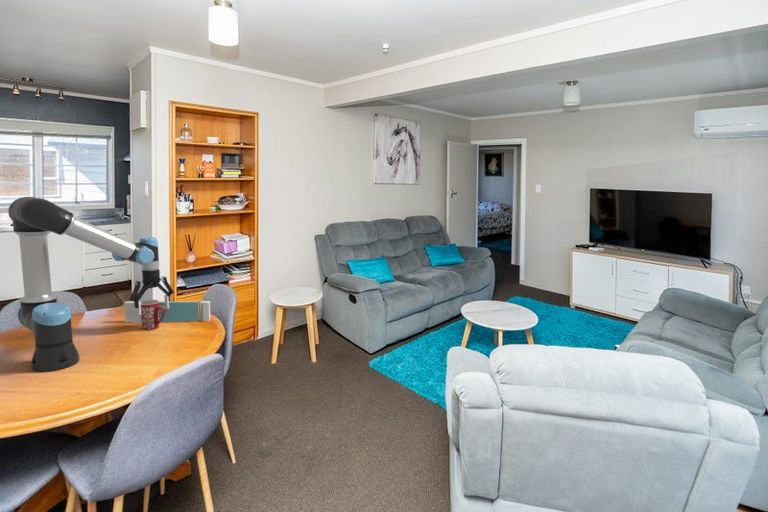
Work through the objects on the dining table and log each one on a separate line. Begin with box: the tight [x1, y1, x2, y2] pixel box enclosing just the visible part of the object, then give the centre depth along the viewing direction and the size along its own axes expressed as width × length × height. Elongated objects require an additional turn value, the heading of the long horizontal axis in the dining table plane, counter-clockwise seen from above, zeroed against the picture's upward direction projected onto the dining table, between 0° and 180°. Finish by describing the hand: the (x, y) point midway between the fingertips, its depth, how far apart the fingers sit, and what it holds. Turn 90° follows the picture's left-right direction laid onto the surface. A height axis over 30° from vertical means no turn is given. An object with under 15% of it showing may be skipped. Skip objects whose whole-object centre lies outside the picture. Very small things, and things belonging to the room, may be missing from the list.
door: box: [159, 300, 200, 323], centre depth 223 cm, size 4×19×10 cm, turn 99°
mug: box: [140, 299, 166, 331], centre depth 211 cm, size 13×9×14 cm
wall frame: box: [123, 300, 211, 323], centre depth 223 cm, size 2×41×11 cm, turn 99°
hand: (153, 311), depth 211 cm, fingers open, 13 cm apart
